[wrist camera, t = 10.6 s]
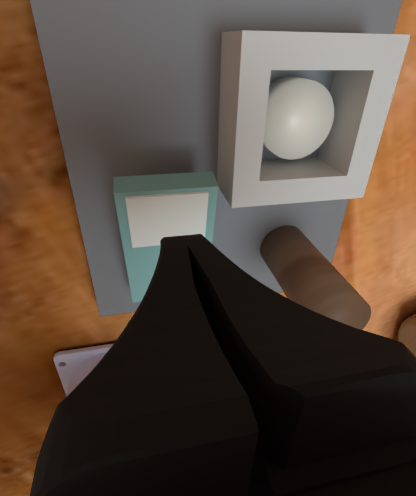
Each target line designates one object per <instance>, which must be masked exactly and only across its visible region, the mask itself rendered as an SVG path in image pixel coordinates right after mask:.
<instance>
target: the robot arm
mask: <svg viewBox="0 0 416 496" xmlns="http://www.w3.org/2000/svg"><path fill="white" fill-rule="evenodd" d="M160 245H161V248H160V254H159V258H158V262H157V265H156V268H155V271H154V274H153V277H152V279H151V282H150V284H149V286H148V289H147V291H146V293H145V295H144V297H143V299H142V301H141V303H140V305H139V307H138V308H137V310H136V312H135V314H134V315H133V317H132V318H131V320H130V321H129V323H128V324H127V326H126V328H125V329H124V331H123V332H122V333H121V335H120V336H119V338H118V339H117V340H116V342H115V343H114V344H107V345H100V346H94V347H87V348H80V349H74V350H67V351H60V352H57V353H56V354H55V355H54V359H53V360H54V363H55V366H56V369H57V372H58V374H59V377H60V380H61V383H62V385H63V388H64V391H65V394H66V398H65V399H64V400H63V401H62V402H61V403H60V404H59V405H58V406H57V409H56V411H55V413H54V416H53V418H52V420H51V423H50V425H49V428H48V430H47V433H46V436H45V439H44V442H43V445H42V448H41V451H40V454H39V457H38V460H37V464H36V468H35V473H34V478H33V483H32V488H31V493H30V496H416V357H415V355H414V354H413V353H412V352H411V351H410V350H409V349H408V348H407V347H406V346H405V345H404V344H403V343H402V342H399V341H396V340H392V339H389V338H386V337H383V336H380V335H376V334H373V333H370V332H367V331H364V330H360V329H357V328H354V327H352V326H349V325H346V324H344V323H341V322H339V321H336V320H333V319H331V318H328V317H326V316H324V315H321V314H319V313H317V312H314V311H312V310H310V309H308V308H306V307H304V306H302V305H300V304H298V303H295V302H293V301H291V300H290V299H288V298H286V297H284V296H282V295H280V294H279V293H277V292H275V291H274V290H272V289H270V288H269V287H267V286H265V285H264V284H262V283H261V282H259V281H258V280H256V279H255V278H253V277H252V276H250V275H249V274H248V273H246V272H245V271H243V270H242V269H241V268H240V267H238V266H237V265H236V264H235V263H233V262H232V261H231V260H230V259H228V258H227V257H226V256H225V255H224V254H223V253H222V252H220V251H219V250H218V249H217V248H216V247H215V246H214V245H213V244H212V243H211V242H210V241H208V240H207V239H206V238H205V237H204V236H203V235H202V234H193V235H183V236H172V237H163V238H162V239H161V240H160Z"/></svg>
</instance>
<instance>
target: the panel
mask: <svg viewBox="0 0 416 496" xmlns="http://www.w3.org/2000/svg"><path fill="white" fill-rule="evenodd" d="M30 3H31V8H32V12H33V17H34V21H35V26H36V30H37V35H38V39H39V44H40V48H41V53H42V57H43V62H44V66H45V71H46V75H47V80H48V84H49V89H50V93H51V98H52V102H53V107H54V111H55V116H56V120H57V125H58V129H59V134H60V138H61V143H62V147H63V152H64V156H65V161H66V165H67V170H68V174H69V179H70V183H71V188H72V192H73V197H74V201H75V206H76V210H77V215H78V219H79V224H80V228H81V233H82V237H83V242H84V246H85V251H86V255H87V260H88V264H89V269H90V273H91V278H92V282H93V287H94V291H95V296H96V300H97V305H98V309H99V314H100V317H101V316H109V315H116V314H124V313H131V312H136V310H137V308H138V307H139V305H140V303H141V302H134V303H133V301H132V296H131V290H130V284H129V279H128V273H127V267H126V262H125V256H124V250H123V245H122V239H121V233H120V228H119V222H118V216H117V211H116V205H115V199H114V193H113V177H122V176H140V175H157V174H174V173H192V172H209V171H213V174H214V176H215V179H216V182H217V184H218V194H217V204H216V213H215V222H214V231H213V241H212V244H213V245H214V246H215V247H216V248H217V249H218V250H219V251H220V252H222V253H223V254H224V255H225V256H226V257H227V258H228V259H230V260H231V261H232V262H233V263H235V264H236V265H237V266H238V267H240V268H241V269H242V270H243V271H245V272H246V273H248V274H249V275H250V276H252V277H253V278H255V279H256V280H258V281H259V282H261V283H262V284H264V285H265V286H267V287H269V288H270V289H272V290H274V291H275V292H277V293H281V292H284V291H283V290H282V288H281V287H280V285H279V283H278V282H277V280H276V279H275V277H274V276H273V274H272V272H271V271H270V269H269V268H268V266H267V265H266V263H265V261H264V260H263V258H262V256H261V253H260V247H261V243H262V241H263V239H264V238H265V237H266V235H267V234H268V233H269V232H271V231H272V230H274V229H275V228H278V227H280V226H286V225H290V226H294V227H297V228H298V229H299V230H300V231H301V232H302V233H303V234H304V235H305V236H306V237H307V238H308V239H309V240H310V241H311V243H312V244H313V245H314V246H315V247H316V248H317V249H318V250H319V251H320V252H321V253H322V254H323V256H324V257H325V258H326V259H327V260H328V261H329V262H330V263H332V259H333V256H334V252H335V248H336V245H337V241H338V237H339V233H340V230H341V226H342V222H343V219H344V215H345V211H346V207H347V204H348V200H349V199H352V198H363V196H364V192H365V189H366V186H367V182H368V179H369V175H370V172H371V169H372V165H373V162H374V158H375V155H376V152H377V148H378V145H379V141H380V138H381V135H382V131H383V128H384V124H385V121H386V117H387V114H388V111H389V107H390V104H391V100H392V97H393V94H394V90H395V87H396V83H397V80H398V77H399V73H400V70H401V66H402V63H403V60H404V56H405V53H406V49H407V46H408V43H409V39H410V36H411V35H404V34H393V33H394V29H395V25H396V22H397V18H398V14H399V10H400V7H401V3H402V0H30ZM286 76H296V77H301V78H305V79H310V80H314V81H317V82H319V83H321V84H322V85H323V86H324V87H325V88H326V89H327V90H328V91H329V93H330V95H331V97H332V100H333V104H334V120H333V124H332V127H331V130H330V132H329V134H328V136H327V138H326V139H325V141H324V142H323V143H322V144H321V145H320V146H319V148H317V149H316V150H315V151H314V152H312V153H311V154H309V155H307V156H305V157H303V158H300V159H294V160H288V159H283V158H280V157H278V156H276V155H275V154H274V153H272V152H271V151H270V150H268V149H267V148H266V147H264V146H263V142H264V132H265V123H266V113H267V104H268V94H269V85H270V84H271V83H272V82H274V81H275V80H277V79H280V78H282V77H286Z"/></svg>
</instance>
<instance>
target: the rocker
mask: <svg viewBox="0 0 416 496" xmlns="http://www.w3.org/2000/svg"><path fill="white" fill-rule="evenodd" d="M113 193H114V199H115V205H116V211H117V216H118V222H119V228H120V233H121V239H122V245H123V250H124V256H125V262H126V267H127V273H128V279H129V284H130V290H131V296H132V301H133V303H134V302H141V301H142V299H143V297H144V295H145V293H146V291H147V289H148V286H149V284H150V282H151V279H152V277H153V274H154V271H155V268H156V265H157V262H158V258H159V254H160V248H161V245H160V240H161V239H162V238H163V237H172V236H183V235H193V234H202V235H203V236H204V237H205V238H206V239H207V240H208V241H210V242H211V243H212V241H213V231H214V222H215V213H216V204H217V194H218V184H217V182H216V179H215V176H214V174H213V171H209V172H192V173H174V174H157V175H140V176H122V177H113Z"/></svg>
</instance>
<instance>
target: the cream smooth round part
mask: <svg viewBox="0 0 416 496" xmlns="http://www.w3.org/2000/svg"><path fill="white" fill-rule="evenodd" d="M333 120H334V104H333V100H332V97H331V95H330V93H329V91H328V90H327V89H326V88H325V87H324V86H323V85H322V84H321V83H319V82H317V81H314V80H310V79H305V78H301V77H296V76H286V77H282V78H280V79H277V80H275V81H274V82H272V83H271V84H270V85H269V94H268V104H267V113H266V123H265V132H264V142H263V146H264V147H266V148H267V149H268V150H270V151H271V152H272V153H274V154H275V155H276V156H278V157H280V158H283V159H288V160H294V159H300V158H303V157H305V156H307V155H309V154H311V153H312V152H314V151H315V150H316V149H317V148H319V146H320V145H321V144H322V143H323V142H324V141H325V139H326V138H327V136H328V134H329V132H330V130H331V127H332V124H333Z"/></svg>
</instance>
